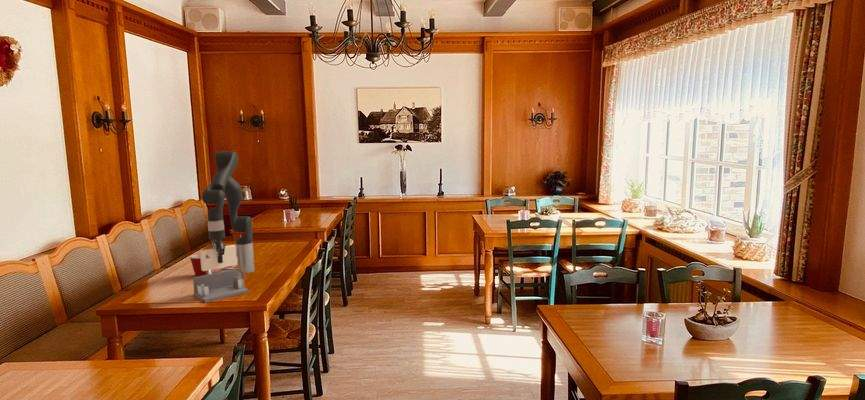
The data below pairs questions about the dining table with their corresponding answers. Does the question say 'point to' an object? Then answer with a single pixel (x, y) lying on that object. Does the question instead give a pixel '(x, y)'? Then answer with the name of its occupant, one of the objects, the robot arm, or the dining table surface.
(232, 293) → the hinge bracket
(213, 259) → the door
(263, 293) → the dining table surface
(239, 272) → the tin
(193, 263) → the plastic cup
